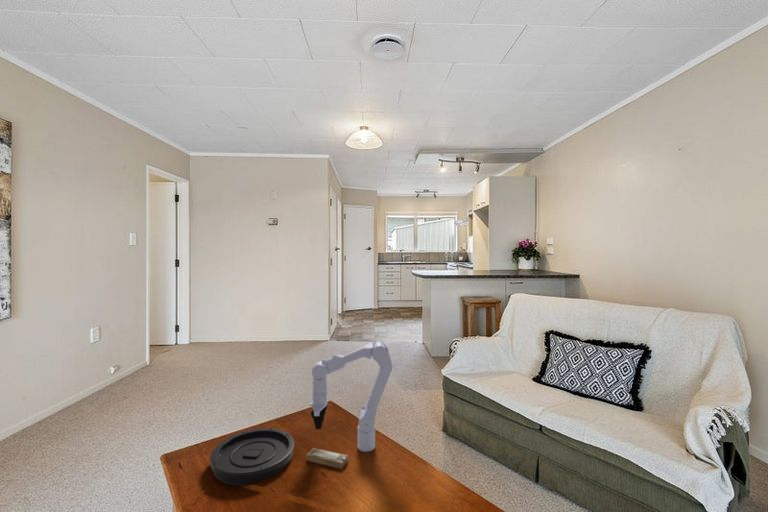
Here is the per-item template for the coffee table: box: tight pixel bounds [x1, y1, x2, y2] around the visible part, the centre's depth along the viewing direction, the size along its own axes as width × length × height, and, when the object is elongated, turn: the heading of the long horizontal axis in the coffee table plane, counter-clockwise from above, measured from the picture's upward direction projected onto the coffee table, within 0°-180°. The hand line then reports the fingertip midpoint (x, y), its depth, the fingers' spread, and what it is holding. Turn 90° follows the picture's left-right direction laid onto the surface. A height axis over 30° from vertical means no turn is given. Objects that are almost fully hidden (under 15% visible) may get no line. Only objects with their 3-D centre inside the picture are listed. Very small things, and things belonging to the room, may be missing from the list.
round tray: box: [209, 428, 295, 487], centre depth 131 cm, size 30×6×30 cm
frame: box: [306, 447, 349, 470], centre depth 130 cm, size 5×15×3 cm, turn 71°
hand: (319, 425), depth 139 cm, fingers open, 5 cm apart
